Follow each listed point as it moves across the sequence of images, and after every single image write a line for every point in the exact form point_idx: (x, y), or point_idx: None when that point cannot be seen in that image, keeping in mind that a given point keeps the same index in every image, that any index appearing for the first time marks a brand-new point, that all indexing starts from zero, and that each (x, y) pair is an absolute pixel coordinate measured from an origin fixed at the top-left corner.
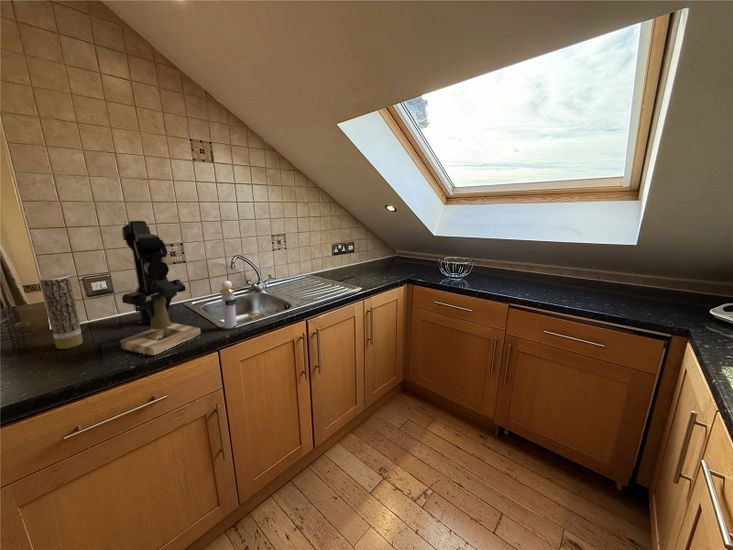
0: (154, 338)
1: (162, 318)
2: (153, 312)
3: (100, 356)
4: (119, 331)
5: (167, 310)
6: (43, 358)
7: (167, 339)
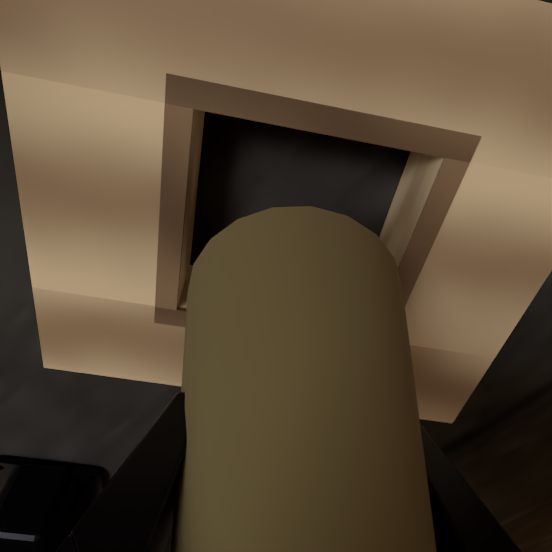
0: None
1: (364, 322)
2: (453, 507)
3: (541, 395)
4: None
5: (163, 427)
6: (528, 545)
7: (431, 72)
